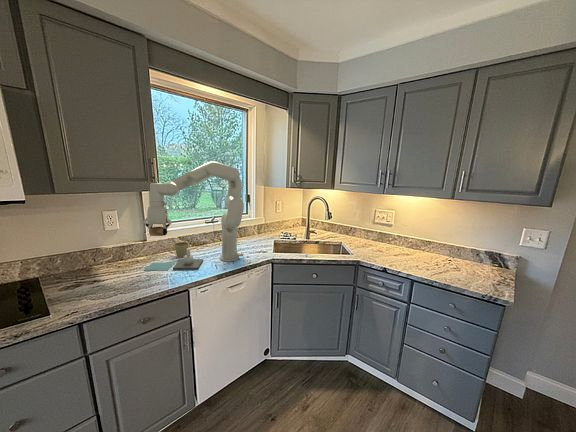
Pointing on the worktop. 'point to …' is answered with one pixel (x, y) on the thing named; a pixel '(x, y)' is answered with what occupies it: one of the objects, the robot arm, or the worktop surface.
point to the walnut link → (156, 231)
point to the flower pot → (181, 249)
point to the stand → (188, 262)
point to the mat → (159, 266)
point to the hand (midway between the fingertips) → (158, 234)
